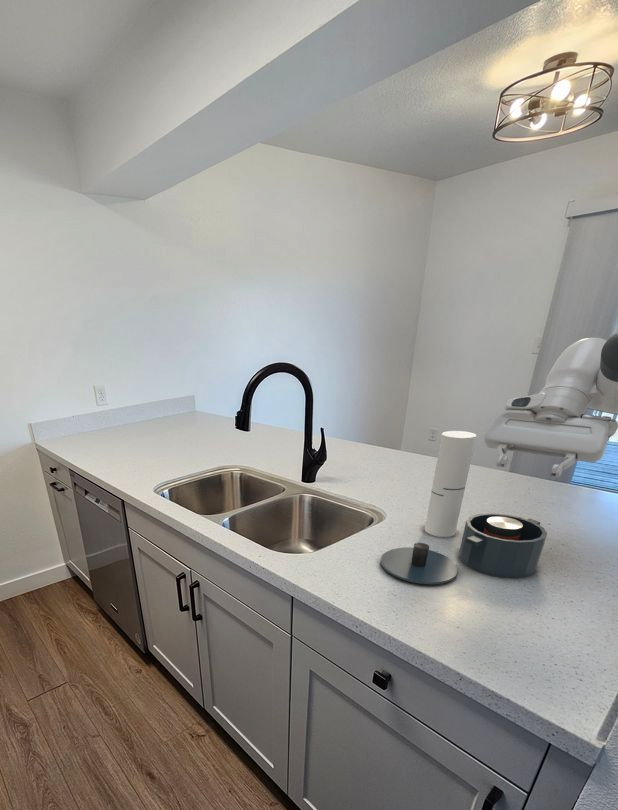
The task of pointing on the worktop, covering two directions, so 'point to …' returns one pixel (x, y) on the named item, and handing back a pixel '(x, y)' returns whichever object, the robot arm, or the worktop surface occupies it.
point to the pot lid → (419, 565)
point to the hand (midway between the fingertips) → (526, 470)
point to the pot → (502, 548)
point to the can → (503, 528)
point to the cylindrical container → (449, 482)
